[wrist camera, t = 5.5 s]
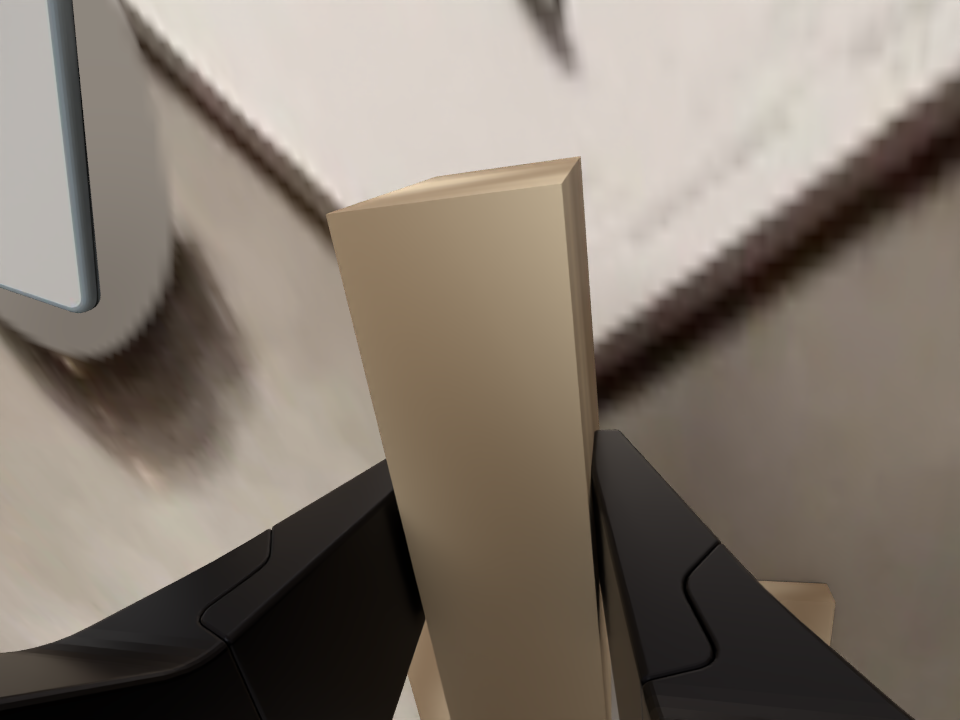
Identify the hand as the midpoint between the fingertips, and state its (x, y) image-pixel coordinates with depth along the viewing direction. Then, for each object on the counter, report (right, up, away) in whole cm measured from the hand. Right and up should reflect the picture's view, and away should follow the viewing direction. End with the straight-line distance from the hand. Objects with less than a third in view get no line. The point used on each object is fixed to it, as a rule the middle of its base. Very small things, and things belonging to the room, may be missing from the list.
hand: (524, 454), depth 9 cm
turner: (+1, -2, +2) cm, 3 cm away
